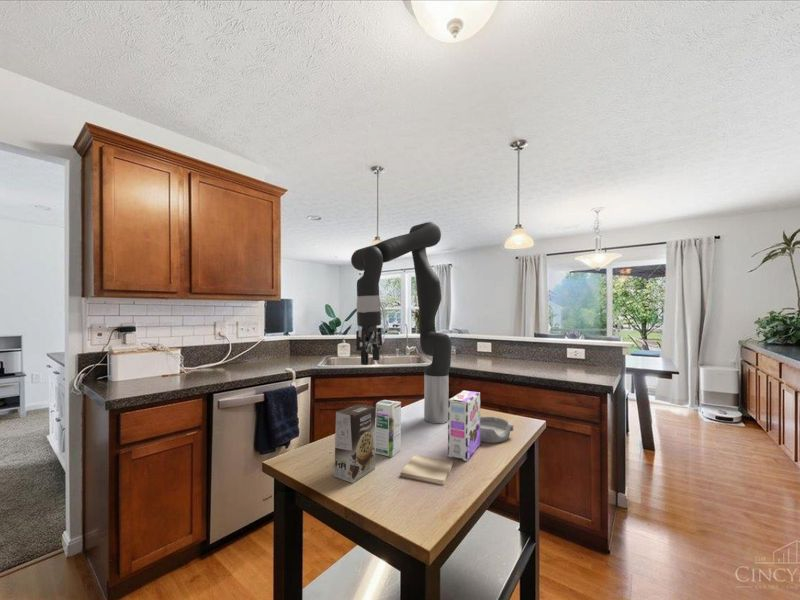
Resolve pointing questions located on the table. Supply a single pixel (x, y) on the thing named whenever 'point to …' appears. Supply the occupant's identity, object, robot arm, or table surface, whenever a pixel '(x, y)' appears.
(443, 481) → the maple board
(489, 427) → the dish
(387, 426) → the syrup box
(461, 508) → the table surface
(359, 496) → the table surface
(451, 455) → the candy box
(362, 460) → the grey cardboard box
